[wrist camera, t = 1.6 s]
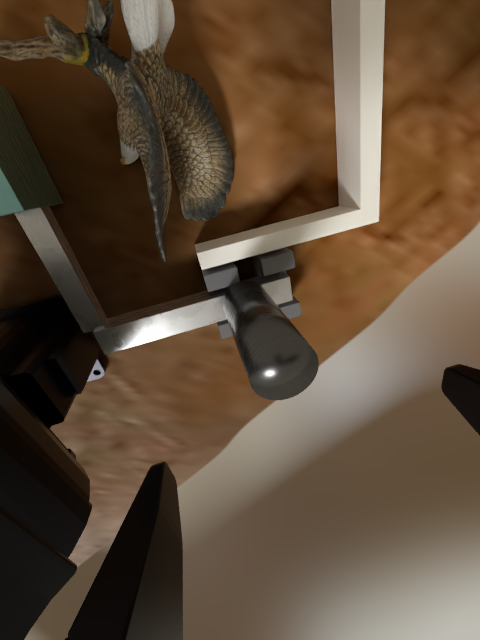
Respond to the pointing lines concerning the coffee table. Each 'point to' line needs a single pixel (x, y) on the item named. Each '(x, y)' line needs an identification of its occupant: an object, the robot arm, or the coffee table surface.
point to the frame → (351, 138)
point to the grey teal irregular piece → (165, 318)
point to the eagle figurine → (148, 104)
